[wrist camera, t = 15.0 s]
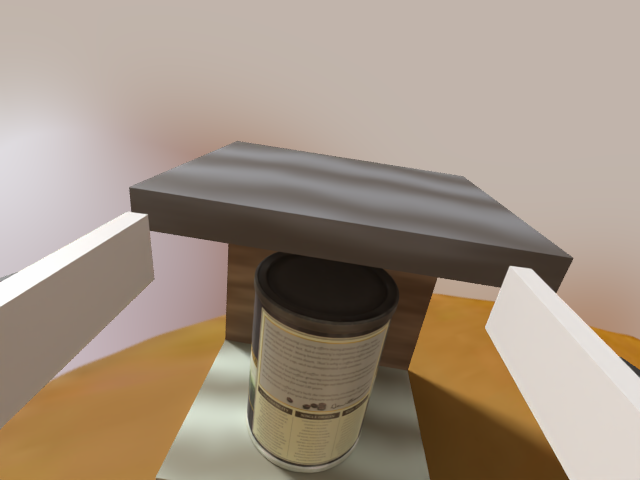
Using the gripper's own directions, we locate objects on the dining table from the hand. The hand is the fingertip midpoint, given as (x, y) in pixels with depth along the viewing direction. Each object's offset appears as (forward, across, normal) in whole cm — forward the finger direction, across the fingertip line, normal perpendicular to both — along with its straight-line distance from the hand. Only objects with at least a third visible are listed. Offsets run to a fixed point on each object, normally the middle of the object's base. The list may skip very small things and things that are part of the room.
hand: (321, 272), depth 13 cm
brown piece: (+11, 0, -21) cm, 24 cm away
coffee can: (+10, 0, -20) cm, 23 cm away
